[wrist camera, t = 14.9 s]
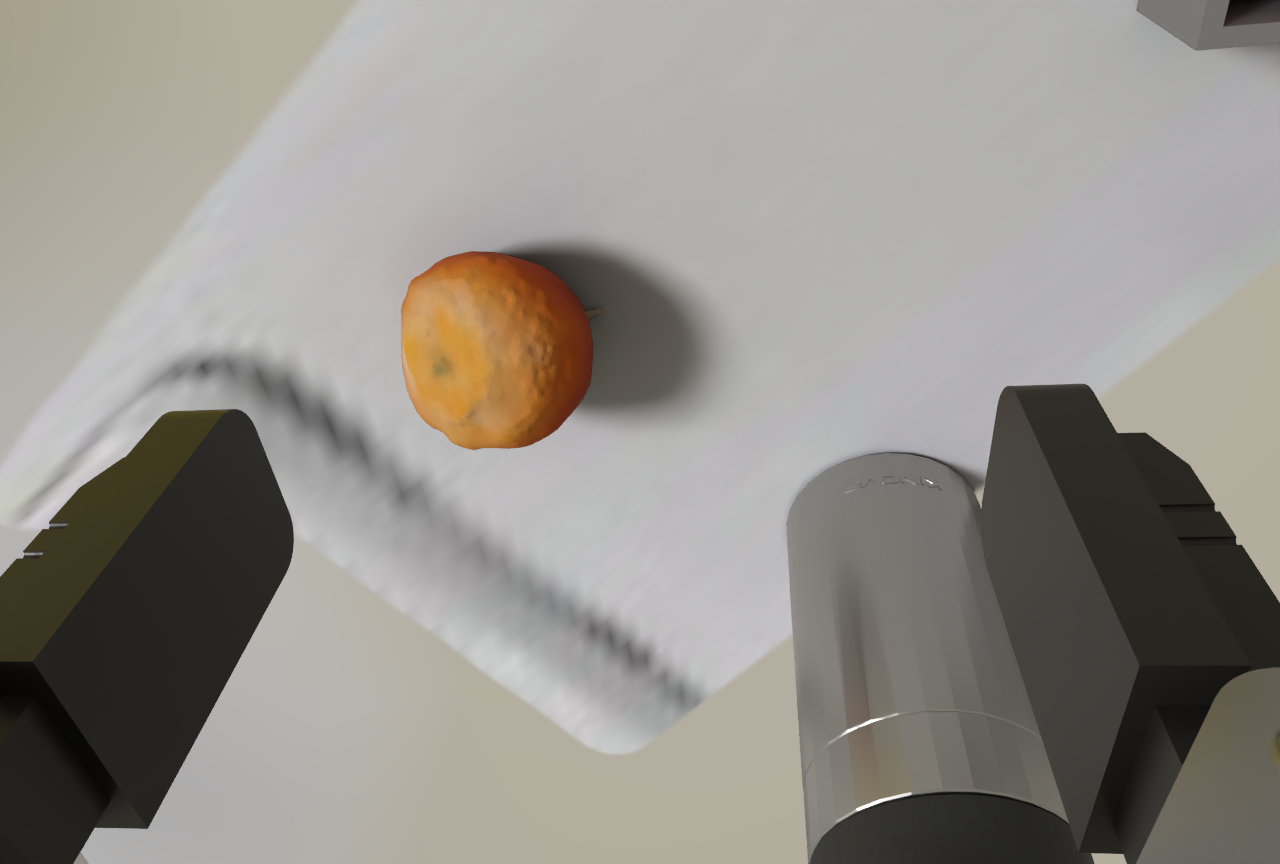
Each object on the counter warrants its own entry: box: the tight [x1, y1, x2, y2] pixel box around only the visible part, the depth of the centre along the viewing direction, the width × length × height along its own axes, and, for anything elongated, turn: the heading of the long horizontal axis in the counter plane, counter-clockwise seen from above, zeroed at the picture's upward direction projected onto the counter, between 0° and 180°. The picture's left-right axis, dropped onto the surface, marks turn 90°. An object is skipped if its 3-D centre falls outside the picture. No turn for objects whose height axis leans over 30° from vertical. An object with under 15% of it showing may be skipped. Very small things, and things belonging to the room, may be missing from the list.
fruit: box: [401, 251, 604, 450], centre depth 38 cm, size 8×8×8 cm
